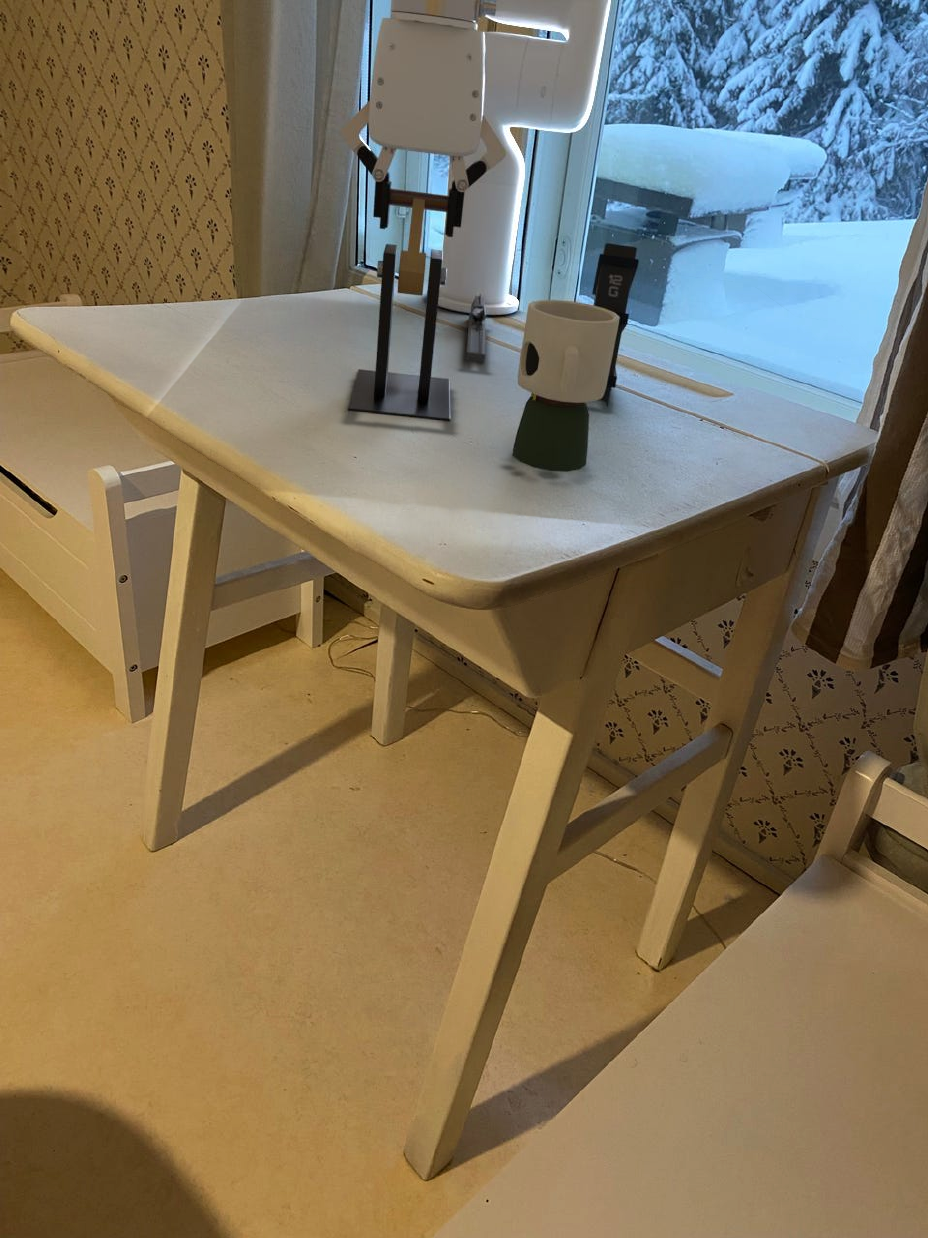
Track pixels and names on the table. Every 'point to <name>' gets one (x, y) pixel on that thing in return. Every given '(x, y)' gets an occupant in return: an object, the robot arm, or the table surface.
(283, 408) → the table surface
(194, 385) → the table surface
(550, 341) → the character mug
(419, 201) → the switch lever
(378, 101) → the robot arm
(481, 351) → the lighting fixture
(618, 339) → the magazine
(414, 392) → the stand
